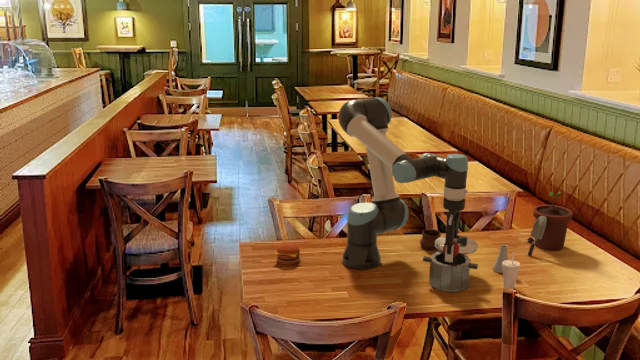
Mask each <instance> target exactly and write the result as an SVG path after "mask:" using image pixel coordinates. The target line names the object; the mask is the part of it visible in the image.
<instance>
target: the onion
mask: <svg viewBox="0 0 640 360" xmlns="http://www.w3.org/2000/svg"><path fill="white" fill-rule="evenodd" d="M453 245H454V250H453V258H454V257H455V256H457V255H458V253H459V246H458V244H457V243H456V242H455V241H454V242H453ZM445 251H446V245H444V246H443V252H444V254H445Z"/></svg>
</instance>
